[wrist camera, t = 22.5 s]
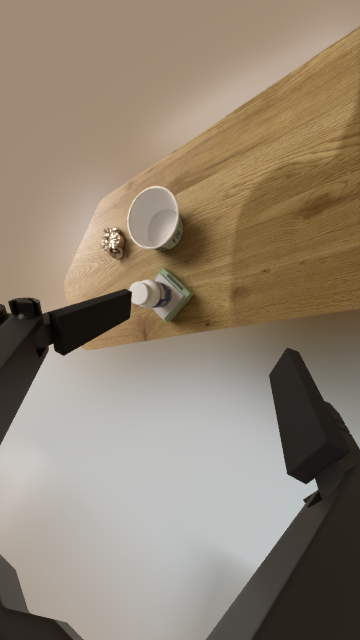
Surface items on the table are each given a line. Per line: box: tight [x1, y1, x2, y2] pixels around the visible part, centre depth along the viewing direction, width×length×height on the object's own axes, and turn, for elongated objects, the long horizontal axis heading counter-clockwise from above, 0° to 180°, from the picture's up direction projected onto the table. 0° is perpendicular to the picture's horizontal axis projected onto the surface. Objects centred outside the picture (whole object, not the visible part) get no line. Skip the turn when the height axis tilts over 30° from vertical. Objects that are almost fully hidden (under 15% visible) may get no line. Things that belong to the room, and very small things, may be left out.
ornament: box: [100, 228, 124, 259], centre depth 43 cm, size 8×7×4 cm
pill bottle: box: [129, 280, 173, 308], centre depth 33 cm, size 5×5×10 cm
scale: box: [152, 268, 194, 322], centre depth 39 cm, size 9×9×4 cm
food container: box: [127, 186, 183, 251], centre depth 36 cm, size 12×12×6 cm
